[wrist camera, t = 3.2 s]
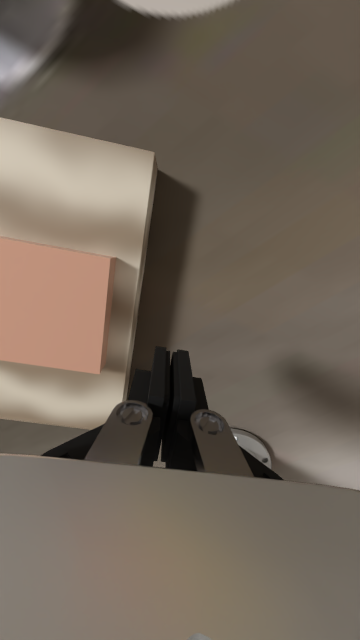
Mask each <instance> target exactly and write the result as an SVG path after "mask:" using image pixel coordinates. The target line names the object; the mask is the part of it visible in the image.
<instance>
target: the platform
mask: <svg viewBox="0 0 360 640" xmlns="http://www.w3.org/2000/svg"><path fill="white" fill-rule="evenodd" d="M157 171H158V168H157V163H156V157H155V152H151V151H147V150H142V149H138V148H133V147H129V146H124V145H120V144H115V143H111V142H107V141H102V140H98V139H93V138H89V137H84V136H80V135H75V134H71V133H67V132H62V131H58V130H53V129H49V128H44V127H40V126H35V125H31V124H27V123H22V122H18V121H13V120H9V119H4V118H0V236H4V237H10V238H15V239H21V240H26V241H32V242H37V243H42V244H48V245H53V246H59V247H64V248H69V249H75V250H80V251H86V252H91V253H97V254H102V255H107V256H113V257H116V266H115V276H114V286H113V296H112V306H111V316H110V326H109V336H108V346H107V356H106V364H105V366H104V367H103V369H102V371H101V373H100V374H93V373H86V372H79V371H72V370H65V369H58V368H51V367H44V366H37V365H30V364H23V363H16V362H9V361H2V360H0V419H8V420H16V421H25V422H33V423H41V424H49V425H57V426H66V427H74V428H82V429H90V430H92V429H94V428H96V427H99V426H101V425H103V424H105V422H106V421H107V419H108V417H109V415H110V414H111V412H112V410H113V409H114V407H115V406H116V405H117V404H119V403H121V402H124V401H126V399H127V392H128V384H129V377H130V370H131V362H132V355H133V348H134V340H135V333H136V325H137V318H138V311H139V303H140V296H141V289H142V281H143V274H144V267H145V259H146V252H147V245H148V237H149V230H150V222H151V215H152V208H153V200H154V193H155V186H156V178H157Z"/></svg>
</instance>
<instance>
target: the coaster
mask: <svg viewBox="0 0 360 640" xmlns="http://www.w3.org/2000/svg"><path fill="white" fill-rule="evenodd" d="M115 266H116V257H113V256H107V255H102V254H97V253H91V252H86V251H80V250H75V249H69V248H64V247H59V246H53V245H48V244H42V243H37V242H32V241H26V240H21V239H15V238H10V237H4V236H0V360H2V361H9V362H16V363H23V364H30V365H37V366H44V367H51V368H58V369H65V370H72V371H79V372H86V373H93V374H100V373H101V371H102V369H103V367H104V366H105V364H106V356H107V346H108V336H109V326H110V316H111V306H112V296H113V286H114V276H115Z"/></svg>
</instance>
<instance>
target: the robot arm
mask: <svg viewBox="0 0 360 640" xmlns="http://www.w3.org/2000/svg"><path fill="white" fill-rule="evenodd" d="M161 440H162V448H161V462H166V468H160V467H153V462H154V461H157V459H158V455H159V450H160V445H161ZM271 469H272V463H271V459H270V455H269V453H268V451H267V449H266V447H265V446H264V444H263V443H262V442H261V441H260V440H259V439H258V438H257V437H255V436H254V435H252V434H250V433H248V432H245V431H243V430H238V429H232V428H230V427H229V425H228V423H227V422H226V420H225V419H224V418H223V417H222V416H221V415H220V414H218V413H216V412H214V411H211V410H209V409H208V405H207V400H206V396H205V392H204V387H203V383H202V379H201V378H196V377H192V371H191V365H190V358H189V352H188V351H184V350H177V352H173V354H172V359H171V364H170V351H166V348H164V347H157V346H156V347H155V353H154V359H153V365H152V371H146V370H138V369H136V371H135V375H134V378H133V382H132V386H131V390H130V393H129V397H128V401H124V402H121V403H119V404H117V405H116V406H115V407H114V409H113V410H112V412H111V414H110V415H109V417H108V419H107V421H106V422H105V424H103V425H101V426H99V427H96V428H94V429H92V430H90V431H88V432H86V433H84V434H82V435H80V436H78V437H76V438H74V439H72V440H70V441H68V442H66V443H64V444H62V445H60V446H57V447H55V448H53V449H51V450H49V451H47V452H46V453H44V454H43V455H41V456H35V455H19V454H3V453H0V640H360V491H359V490H355V489H349V488H342V487H335V486H328V485H321V484H312V483H303V482H294V481H285V480H283V479H282V478H281V477H280V476H279V475H278V474H276V473H275V472H274V471H272V470H271Z"/></svg>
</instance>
